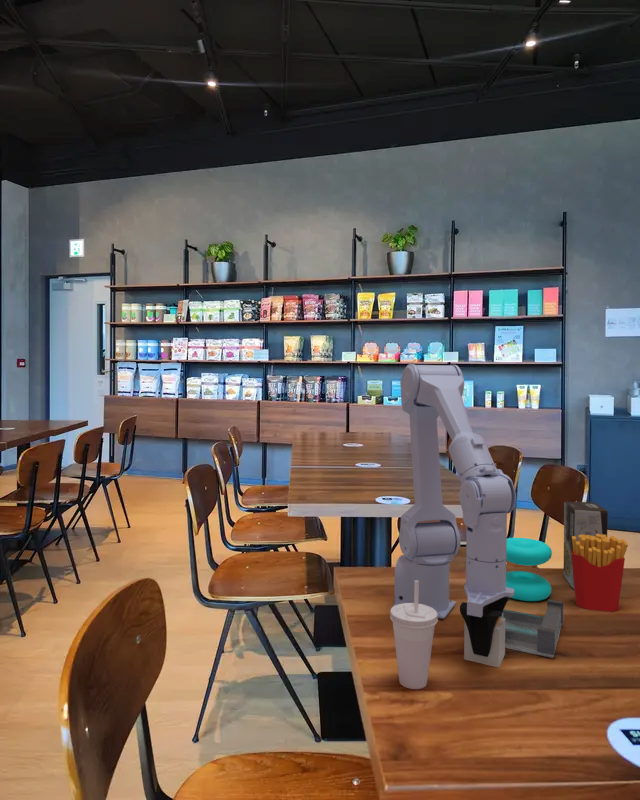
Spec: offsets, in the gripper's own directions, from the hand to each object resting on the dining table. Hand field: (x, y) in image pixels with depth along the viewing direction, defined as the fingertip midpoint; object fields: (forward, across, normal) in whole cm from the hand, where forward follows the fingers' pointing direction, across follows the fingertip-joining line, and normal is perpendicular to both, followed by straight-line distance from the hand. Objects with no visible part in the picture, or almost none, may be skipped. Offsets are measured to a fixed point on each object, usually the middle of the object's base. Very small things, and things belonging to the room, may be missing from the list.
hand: (484, 647), depth 84 cm
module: (+1, 0, 0) cm, 1 cm away
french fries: (+2, +30, -14) cm, 33 cm away
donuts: (+2, +30, -1) cm, 30 cm away
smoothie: (+2, -12, +7) cm, 14 cm away
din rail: (+1, +11, -3) cm, 12 cm away
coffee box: (+2, +42, -11) cm, 43 cm away
